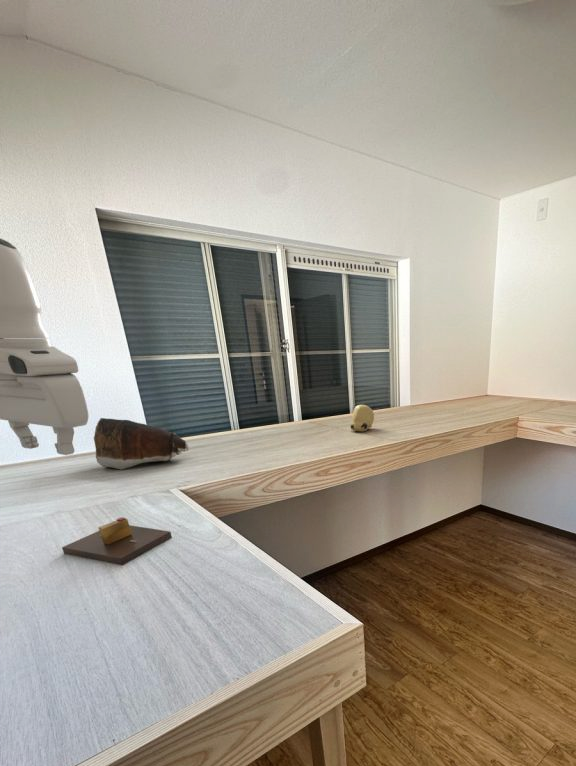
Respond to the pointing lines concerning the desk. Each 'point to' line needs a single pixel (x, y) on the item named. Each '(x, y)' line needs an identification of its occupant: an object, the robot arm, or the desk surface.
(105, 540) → the lock turn
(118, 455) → the brown tapered piece
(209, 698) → the desk surface
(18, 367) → the robot arm
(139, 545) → the plate
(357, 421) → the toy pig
